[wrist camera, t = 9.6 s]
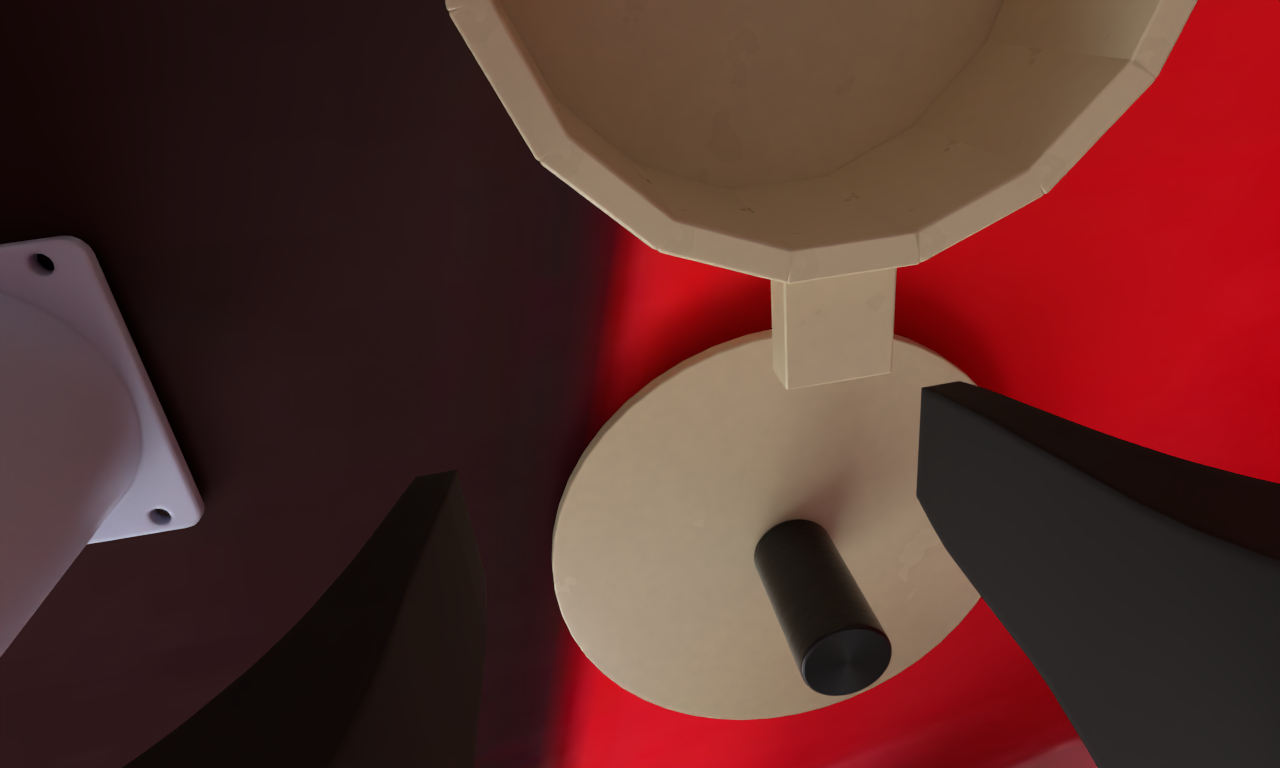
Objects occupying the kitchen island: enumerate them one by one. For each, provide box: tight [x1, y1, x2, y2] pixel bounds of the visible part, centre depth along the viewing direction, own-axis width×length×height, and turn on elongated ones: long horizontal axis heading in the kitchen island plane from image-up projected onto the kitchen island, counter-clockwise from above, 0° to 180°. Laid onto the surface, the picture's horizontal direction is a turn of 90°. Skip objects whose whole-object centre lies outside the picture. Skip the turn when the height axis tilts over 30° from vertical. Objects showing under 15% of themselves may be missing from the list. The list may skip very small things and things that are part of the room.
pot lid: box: [552, 329, 981, 720], centre depth 22 cm, size 14×14×6 cm
